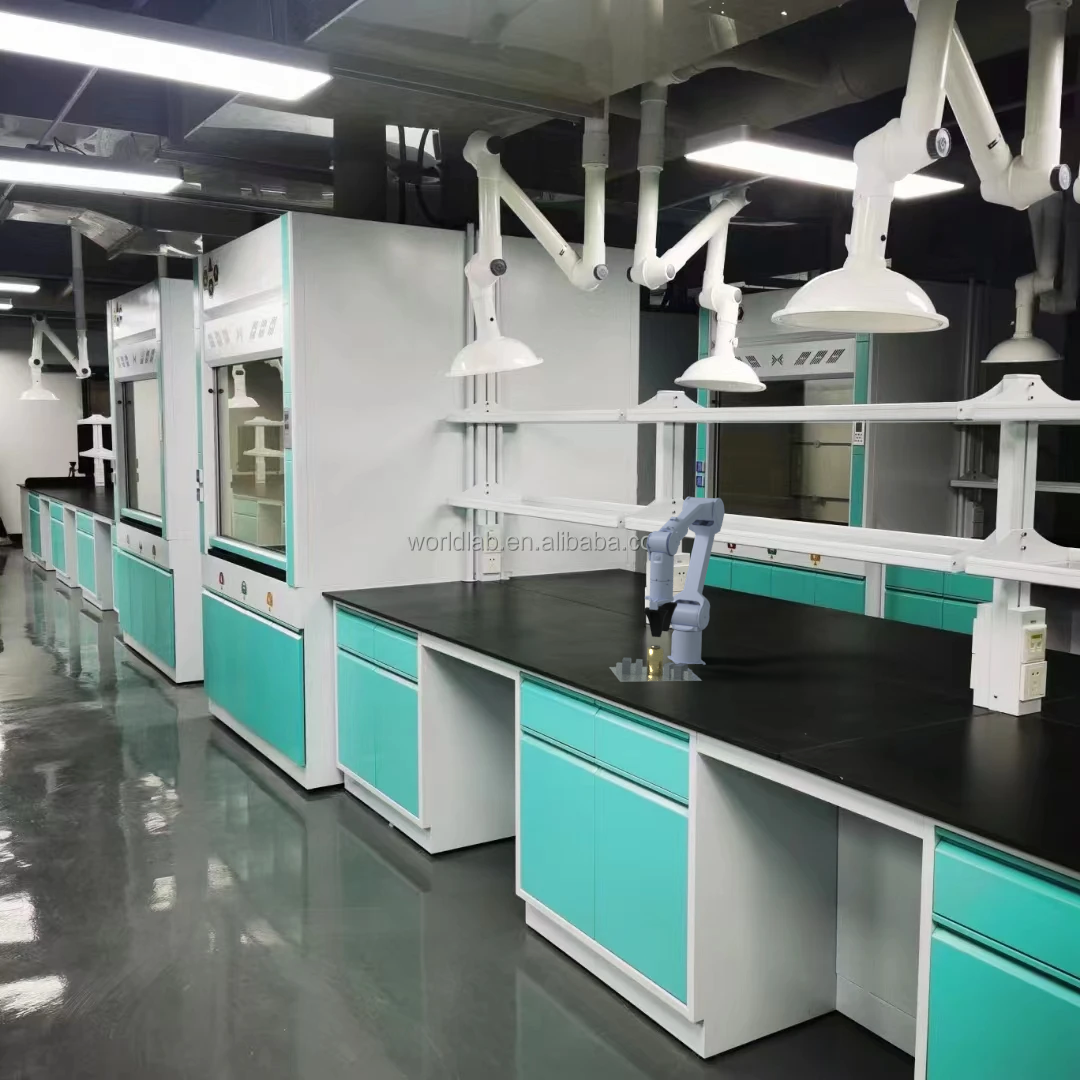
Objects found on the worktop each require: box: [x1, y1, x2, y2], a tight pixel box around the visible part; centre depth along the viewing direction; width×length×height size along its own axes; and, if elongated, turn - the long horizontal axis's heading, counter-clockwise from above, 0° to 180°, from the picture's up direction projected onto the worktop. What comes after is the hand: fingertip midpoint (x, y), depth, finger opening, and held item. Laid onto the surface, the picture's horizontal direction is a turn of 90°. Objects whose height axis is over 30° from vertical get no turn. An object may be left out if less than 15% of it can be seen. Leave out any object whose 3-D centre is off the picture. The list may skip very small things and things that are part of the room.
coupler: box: [646, 644, 664, 676], centre depth 252 cm, size 4×4×7 cm
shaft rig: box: [608, 657, 703, 683], centre depth 252 cm, size 15×20×4 cm
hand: (660, 633), depth 253 cm, fingers open, 7 cm apart
